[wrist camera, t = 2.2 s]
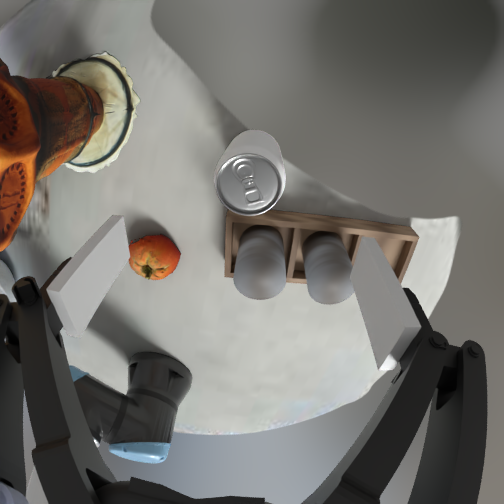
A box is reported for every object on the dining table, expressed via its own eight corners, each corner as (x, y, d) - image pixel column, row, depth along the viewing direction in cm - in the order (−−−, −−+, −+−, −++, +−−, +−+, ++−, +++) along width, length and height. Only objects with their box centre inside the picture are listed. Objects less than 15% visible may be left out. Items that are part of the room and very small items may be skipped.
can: (272, 122, 31) (275, 138, 21) (286, 171, 35) (295, 210, 24) (220, 138, 33) (199, 162, 23) (237, 184, 36) (225, 228, 26)
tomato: (121, 267, 42) (118, 268, 36) (136, 227, 43) (137, 221, 37) (166, 284, 45) (172, 289, 39) (180, 245, 46) (189, 242, 40)
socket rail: (227, 264, 43) (218, 306, 35) (229, 206, 38) (218, 240, 30) (392, 277, 42) (411, 316, 35) (410, 227, 37) (437, 261, 30)
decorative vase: (24, 62, 24) (-123, 103, 1) (155, 31, 26) (-17, -20, 2) (31, 182, 36) (-85, 285, 12) (151, 180, 37) (34, 337, 13)
